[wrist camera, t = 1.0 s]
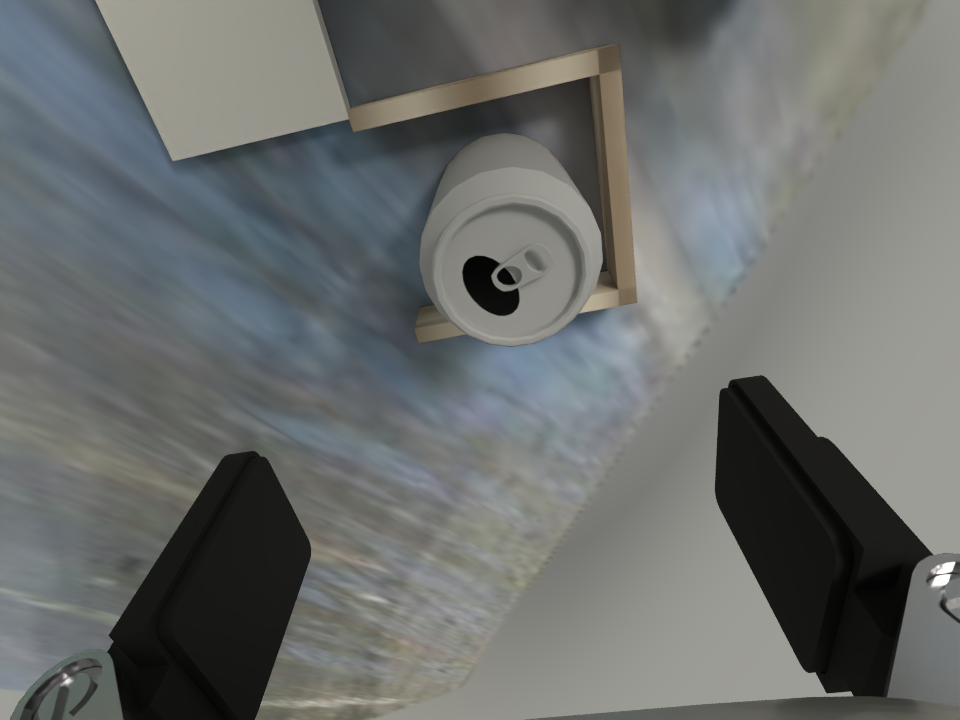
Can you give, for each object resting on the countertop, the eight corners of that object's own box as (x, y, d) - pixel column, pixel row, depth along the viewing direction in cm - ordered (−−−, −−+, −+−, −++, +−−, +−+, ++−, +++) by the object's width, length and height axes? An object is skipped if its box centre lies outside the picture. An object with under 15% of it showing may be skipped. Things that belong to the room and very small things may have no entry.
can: (411, 187, 30) (372, 260, 20) (518, 99, 28) (539, 129, 17) (489, 285, 33) (492, 393, 23) (592, 213, 31) (647, 296, 20)
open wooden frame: (606, 44, 26) (619, 44, 24) (625, 282, 33) (637, 302, 30) (359, 104, 28) (346, 110, 25) (423, 321, 34) (418, 343, 32)
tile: (278, -127, 23) (271, -134, 22) (353, 117, 28) (349, 119, 27) (76, -66, 24) (61, -71, 23) (182, 158, 29) (172, 161, 28)
